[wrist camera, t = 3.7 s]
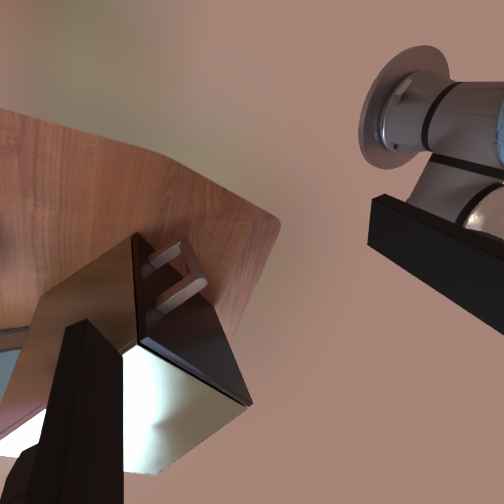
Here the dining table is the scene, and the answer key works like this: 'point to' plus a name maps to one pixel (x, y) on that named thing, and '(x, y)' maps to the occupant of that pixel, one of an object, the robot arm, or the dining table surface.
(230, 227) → the dining table surface
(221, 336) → the compartment door
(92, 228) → the dining table surface
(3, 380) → the book
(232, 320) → the dining table surface
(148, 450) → the storage compartment
